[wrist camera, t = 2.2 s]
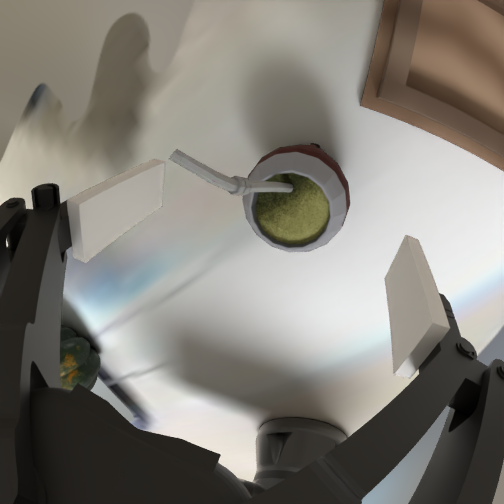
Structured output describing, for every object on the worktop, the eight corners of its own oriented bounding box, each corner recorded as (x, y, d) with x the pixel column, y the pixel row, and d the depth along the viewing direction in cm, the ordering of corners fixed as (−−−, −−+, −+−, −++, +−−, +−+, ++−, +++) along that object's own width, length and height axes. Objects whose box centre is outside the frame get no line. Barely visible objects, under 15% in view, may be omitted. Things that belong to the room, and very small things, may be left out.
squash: (115, 404, 46) (43, 410, 33) (75, 390, 52) (15, 391, 39) (112, 328, 50) (40, 319, 37) (73, 326, 56) (13, 318, 43)
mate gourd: (334, 228, 26) (315, 358, 13) (248, 202, 27) (159, 302, 14) (360, 147, 22) (384, 210, 9) (265, 120, 23) (168, 148, 10)
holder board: (518, 180, 18) (534, 190, 16) (360, 105, 20) (362, 105, 18) (547, 32, 10) (564, 29, 7) (393, -52, 12) (397, -67, 10)
